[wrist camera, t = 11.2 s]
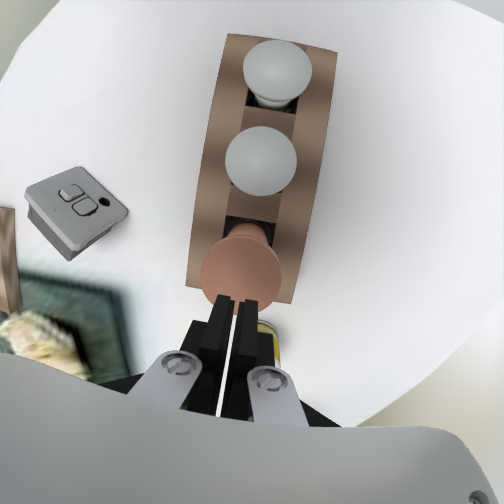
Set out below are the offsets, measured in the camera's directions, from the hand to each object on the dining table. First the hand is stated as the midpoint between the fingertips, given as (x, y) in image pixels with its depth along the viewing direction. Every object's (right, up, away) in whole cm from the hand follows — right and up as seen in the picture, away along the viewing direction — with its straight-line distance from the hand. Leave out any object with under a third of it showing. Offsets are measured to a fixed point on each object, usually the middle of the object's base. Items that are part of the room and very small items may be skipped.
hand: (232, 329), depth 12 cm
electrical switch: (-18, +9, +19) cm, 28 cm away
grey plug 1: (+3, +19, +15) cm, 24 cm away
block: (+2, +12, +17) cm, 21 cm away
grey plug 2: (+2, +12, +17) cm, 21 cm away
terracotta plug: (0, +4, +15) cm, 16 cm away
